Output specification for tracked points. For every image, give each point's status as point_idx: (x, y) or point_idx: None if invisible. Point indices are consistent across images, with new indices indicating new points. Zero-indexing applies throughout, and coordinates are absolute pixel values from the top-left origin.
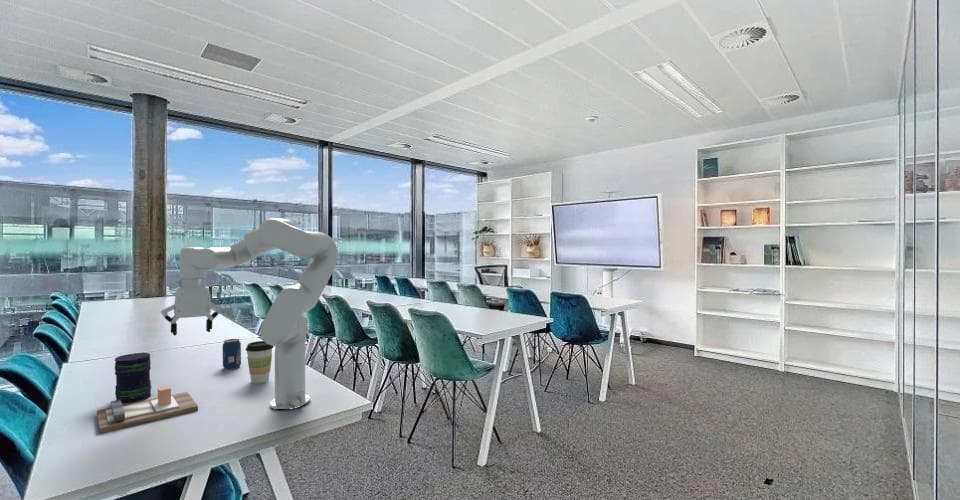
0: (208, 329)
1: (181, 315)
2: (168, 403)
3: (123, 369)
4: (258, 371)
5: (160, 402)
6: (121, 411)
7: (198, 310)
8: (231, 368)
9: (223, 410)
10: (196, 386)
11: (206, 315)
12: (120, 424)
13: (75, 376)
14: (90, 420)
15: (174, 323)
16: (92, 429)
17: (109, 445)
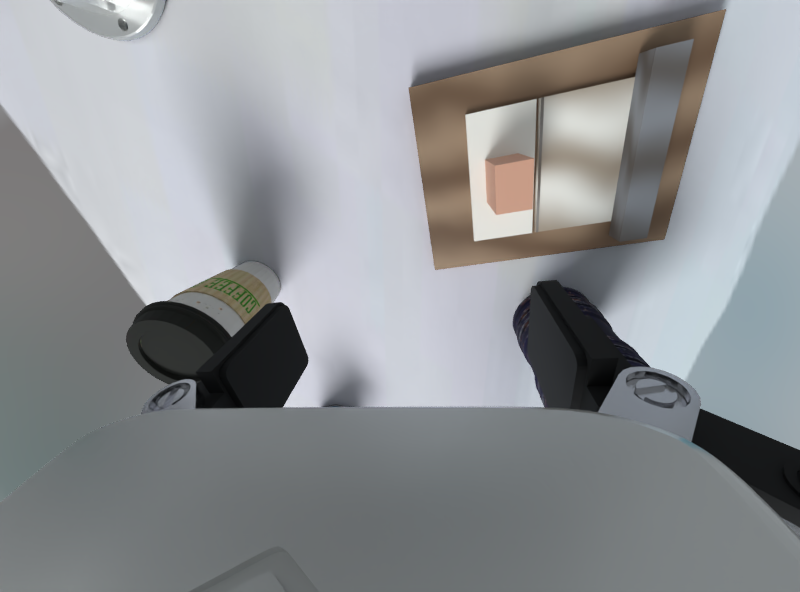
0: (272, 315)
1: (601, 446)
2: (492, 157)
3: (636, 355)
4: (235, 274)
5: (518, 155)
6: (658, 80)
7: (162, 552)
8: (338, 406)
9: (330, 27)
10: (411, 328)
11: (152, 415)
12: (654, 27)
13: None
14: (682, 194)
15: (609, 378)
16: (708, 89)
17: None
